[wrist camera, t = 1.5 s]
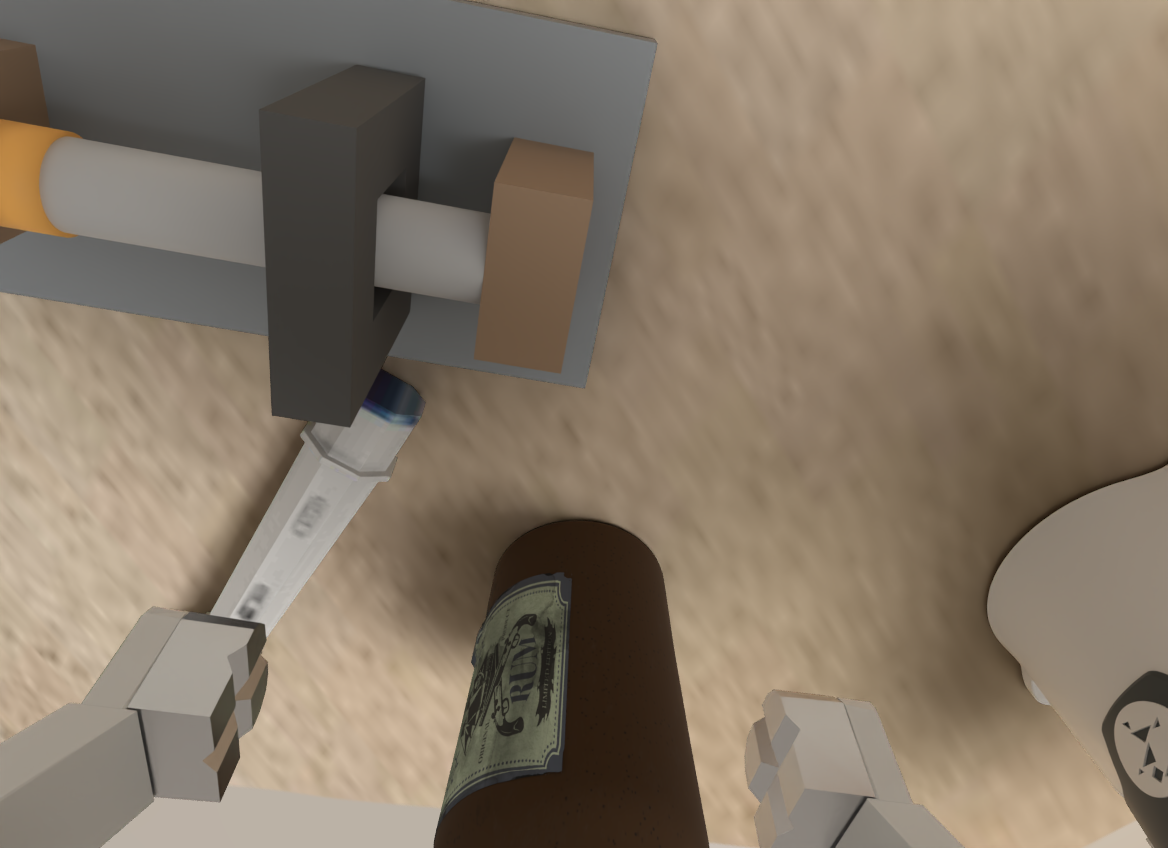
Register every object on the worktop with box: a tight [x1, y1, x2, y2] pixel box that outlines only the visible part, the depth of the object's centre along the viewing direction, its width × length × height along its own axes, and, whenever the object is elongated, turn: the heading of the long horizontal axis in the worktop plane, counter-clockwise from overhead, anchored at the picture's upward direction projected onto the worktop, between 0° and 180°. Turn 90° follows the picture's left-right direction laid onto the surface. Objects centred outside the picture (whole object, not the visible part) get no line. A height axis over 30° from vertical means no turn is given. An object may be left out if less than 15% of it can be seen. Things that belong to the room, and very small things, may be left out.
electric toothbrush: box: [206, 369, 426, 654], centre depth 39 cm, size 5×7×25 cm
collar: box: [259, 65, 425, 428], centre depth 25 cm, size 2×9×9 cm, turn 170°
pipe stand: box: [0, 0, 657, 388], centre depth 27 cm, size 26×14×8 cm, turn 80°
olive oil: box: [434, 520, 709, 848], centre depth 31 cm, size 11×11×25 cm
